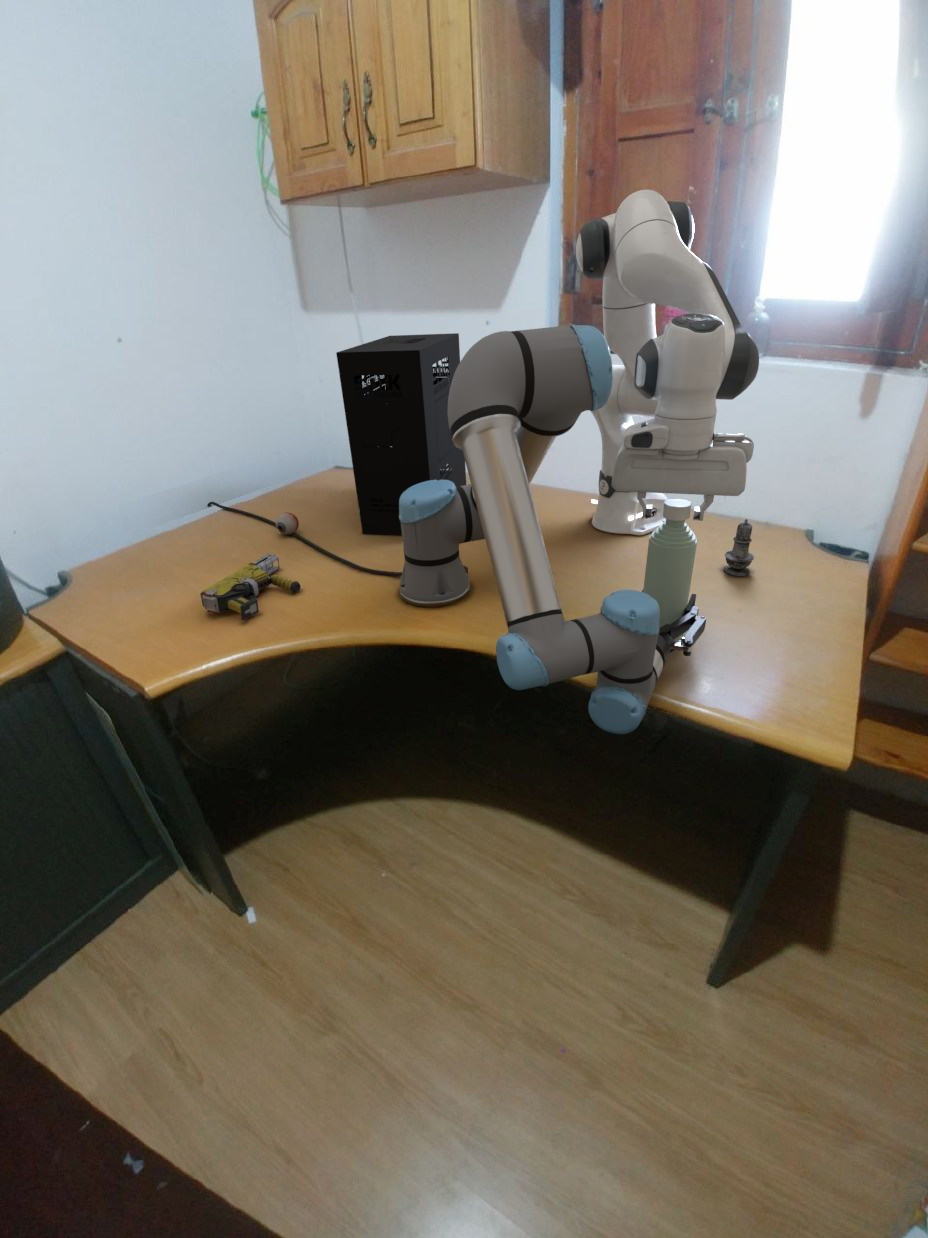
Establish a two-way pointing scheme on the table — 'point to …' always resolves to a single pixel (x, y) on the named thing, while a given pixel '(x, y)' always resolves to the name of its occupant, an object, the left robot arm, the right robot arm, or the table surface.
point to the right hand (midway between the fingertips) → (671, 518)
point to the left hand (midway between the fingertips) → (669, 596)
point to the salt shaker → (740, 551)
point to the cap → (676, 509)
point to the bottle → (670, 569)
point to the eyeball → (287, 523)
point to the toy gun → (245, 588)
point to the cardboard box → (399, 421)
